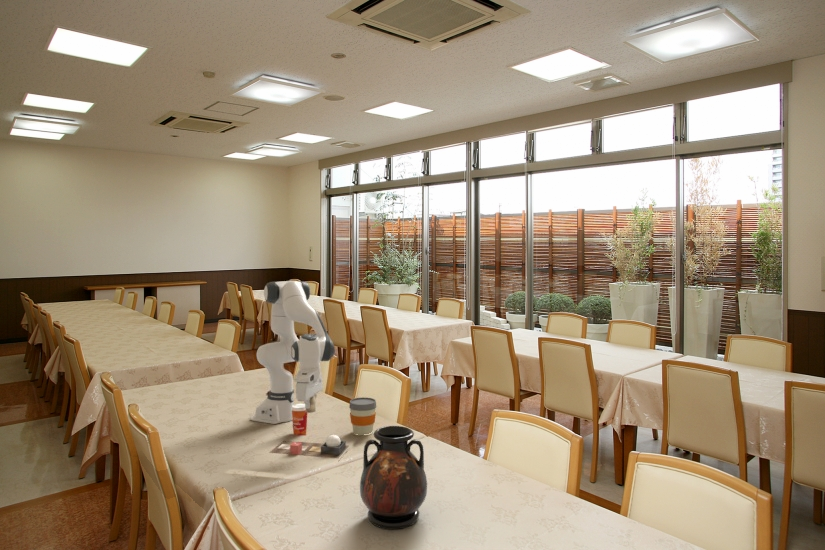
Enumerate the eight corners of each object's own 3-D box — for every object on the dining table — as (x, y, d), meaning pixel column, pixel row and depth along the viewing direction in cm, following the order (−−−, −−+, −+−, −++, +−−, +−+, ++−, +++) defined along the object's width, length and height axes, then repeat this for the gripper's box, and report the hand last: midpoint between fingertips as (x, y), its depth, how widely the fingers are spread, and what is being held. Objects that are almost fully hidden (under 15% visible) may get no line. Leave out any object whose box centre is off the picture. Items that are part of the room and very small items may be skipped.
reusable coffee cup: (344, 434, 247) (343, 402, 246) (359, 426, 258) (359, 395, 258) (367, 439, 241) (366, 406, 241) (381, 430, 252) (381, 399, 252)
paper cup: (287, 437, 244) (287, 406, 243) (298, 431, 250) (298, 402, 250) (301, 439, 240) (301, 409, 239) (312, 434, 247) (311, 404, 246)
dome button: (324, 451, 221) (324, 437, 220) (329, 446, 227) (329, 432, 226) (337, 452, 220) (337, 438, 219) (342, 447, 226) (342, 433, 225)
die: (290, 453, 220) (290, 445, 220) (293, 450, 223) (293, 441, 223) (298, 454, 219) (298, 445, 219) (301, 451, 223) (301, 442, 223)
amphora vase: (425, 501, 182) (425, 420, 181) (429, 535, 161) (429, 443, 159) (361, 502, 182) (361, 420, 180) (357, 536, 160) (357, 444, 159)
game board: (269, 456, 221) (268, 445, 221) (283, 443, 235) (283, 433, 235) (338, 461, 216) (338, 450, 215) (349, 449, 229) (349, 438, 229)
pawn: (304, 412, 222) (303, 390, 222) (307, 409, 226) (307, 387, 226) (313, 412, 221) (312, 390, 221) (316, 410, 225) (316, 388, 225)
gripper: (312, 368, 234) (312, 399, 235) (292, 378, 214) (293, 412, 215) (326, 368, 233) (326, 400, 233) (307, 379, 213) (308, 413, 213)
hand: (310, 406), depth 224 cm, fingers closed on pawn, 4 cm apart
